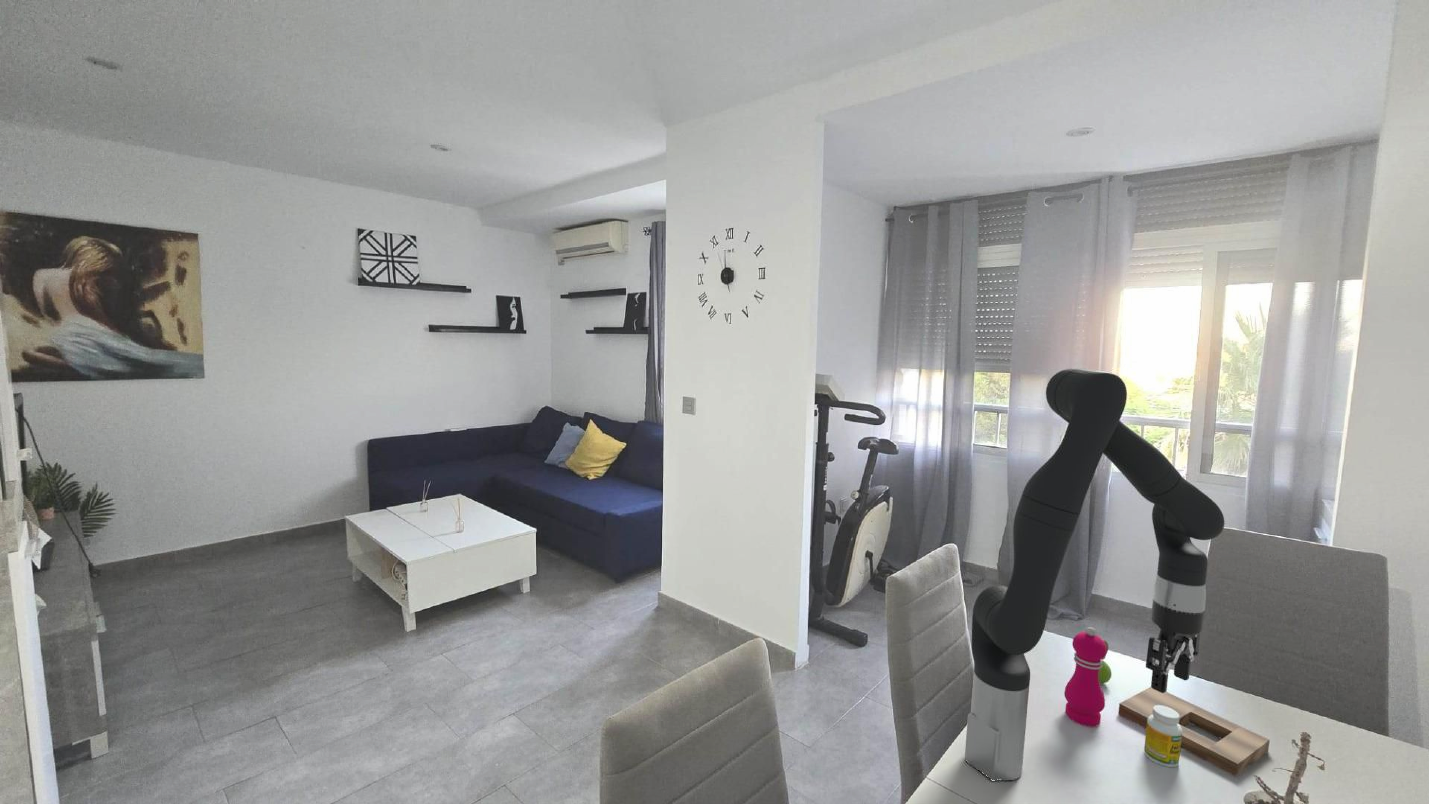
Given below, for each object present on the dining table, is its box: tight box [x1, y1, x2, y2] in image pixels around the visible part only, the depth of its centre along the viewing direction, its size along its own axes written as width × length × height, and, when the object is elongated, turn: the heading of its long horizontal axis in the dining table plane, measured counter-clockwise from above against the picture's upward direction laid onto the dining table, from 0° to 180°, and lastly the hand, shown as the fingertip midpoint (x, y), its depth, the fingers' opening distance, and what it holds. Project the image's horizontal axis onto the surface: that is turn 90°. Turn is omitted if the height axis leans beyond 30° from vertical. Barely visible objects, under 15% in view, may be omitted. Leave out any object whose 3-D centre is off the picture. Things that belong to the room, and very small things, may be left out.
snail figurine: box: [1099, 638, 1112, 685], centre depth 136 cm, size 5×6×12 cm
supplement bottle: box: [1143, 705, 1182, 768], centre depth 111 cm, size 5×5×10 cm
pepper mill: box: [1064, 626, 1108, 728], centre depth 122 cm, size 7×7×20 cm
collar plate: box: [1118, 686, 1270, 777], centre depth 119 cm, size 14×20×2 cm
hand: (1170, 684), depth 110 cm, fingers open, 8 cm apart
